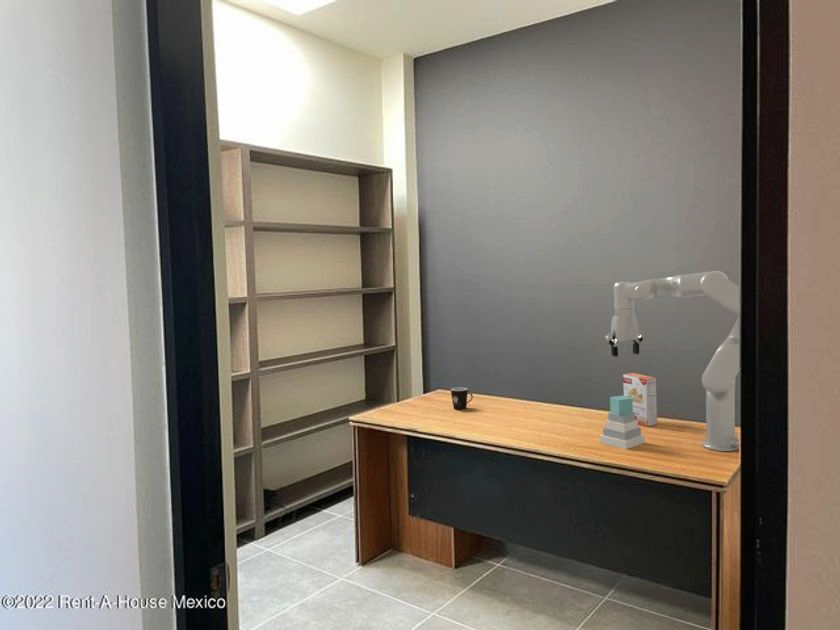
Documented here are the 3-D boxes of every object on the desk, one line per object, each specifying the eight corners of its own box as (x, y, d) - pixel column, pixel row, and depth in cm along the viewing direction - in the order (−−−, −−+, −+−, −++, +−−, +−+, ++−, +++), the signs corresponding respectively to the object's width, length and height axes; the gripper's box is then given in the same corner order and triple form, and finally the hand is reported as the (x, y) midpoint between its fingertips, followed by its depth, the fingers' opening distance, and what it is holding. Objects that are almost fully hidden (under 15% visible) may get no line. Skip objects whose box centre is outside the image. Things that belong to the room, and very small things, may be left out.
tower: (644, 442, 235) (644, 412, 234) (625, 449, 228) (624, 418, 227) (618, 436, 245) (618, 407, 244) (599, 442, 238) (598, 413, 237)
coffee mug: (448, 408, 307) (447, 388, 307) (463, 405, 311) (462, 386, 310) (459, 412, 297) (458, 392, 296) (474, 410, 301) (473, 390, 300)
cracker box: (623, 420, 268) (622, 373, 266) (634, 418, 270) (632, 372, 268) (647, 427, 255) (646, 378, 253) (657, 425, 258) (656, 377, 256)
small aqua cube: (623, 410, 239) (623, 395, 238) (632, 413, 233) (632, 398, 233) (610, 412, 237) (610, 397, 237) (619, 415, 232) (618, 400, 231)
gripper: (637, 310, 246) (638, 351, 248) (600, 313, 242) (601, 355, 243) (649, 311, 239) (650, 354, 240) (610, 315, 234) (611, 358, 236)
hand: (625, 355), depth 242 cm, fingers open, 9 cm apart
